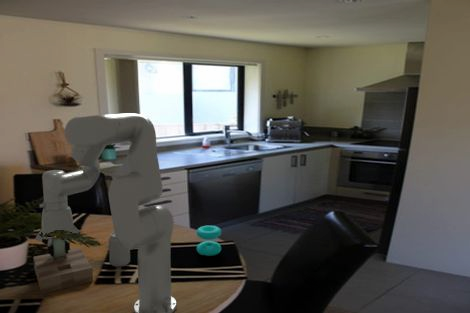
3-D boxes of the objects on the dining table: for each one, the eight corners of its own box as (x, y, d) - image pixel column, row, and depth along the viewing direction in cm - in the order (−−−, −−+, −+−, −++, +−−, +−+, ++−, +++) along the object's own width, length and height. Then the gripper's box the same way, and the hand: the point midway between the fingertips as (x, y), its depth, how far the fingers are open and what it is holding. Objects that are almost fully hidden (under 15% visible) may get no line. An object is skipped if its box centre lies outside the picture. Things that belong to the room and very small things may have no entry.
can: (124, 268, 143) (123, 237, 141) (106, 266, 144) (104, 236, 142) (133, 260, 150) (132, 230, 148) (116, 258, 151) (114, 229, 149)
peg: (68, 269, 140) (66, 237, 139) (54, 272, 138) (52, 240, 136) (65, 264, 144) (63, 234, 142) (52, 267, 142) (50, 236, 140)
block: (93, 281, 133) (92, 267, 132) (41, 293, 124) (40, 279, 124) (80, 259, 150) (80, 247, 149) (34, 269, 141) (33, 256, 140)
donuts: (193, 226, 160) (216, 223, 163) (193, 249, 161) (216, 245, 165) (200, 234, 150) (224, 231, 154) (200, 258, 152) (224, 254, 156)
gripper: (30, 211, 130) (34, 263, 133) (83, 204, 139) (85, 252, 142) (28, 206, 136) (32, 255, 139) (79, 199, 145) (81, 245, 148)
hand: (59, 253), depth 140 cm, fingers closed on peg, 4 cm apart
